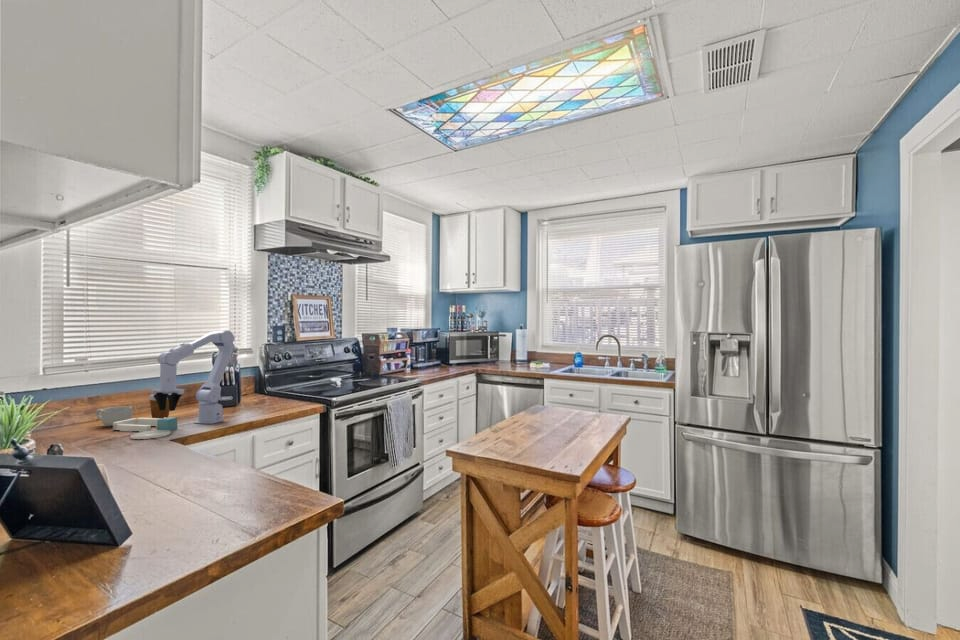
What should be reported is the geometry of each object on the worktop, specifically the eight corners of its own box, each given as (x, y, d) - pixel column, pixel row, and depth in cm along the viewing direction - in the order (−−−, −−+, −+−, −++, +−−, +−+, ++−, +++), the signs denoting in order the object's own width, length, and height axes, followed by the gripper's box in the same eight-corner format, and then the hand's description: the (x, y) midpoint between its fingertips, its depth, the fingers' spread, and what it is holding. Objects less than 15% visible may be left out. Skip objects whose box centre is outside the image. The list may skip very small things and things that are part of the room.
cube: (177, 429, 186) (177, 417, 186) (167, 431, 181) (167, 419, 181) (167, 428, 187) (167, 417, 187) (156, 431, 182) (157, 419, 182)
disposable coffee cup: (142, 420, 203) (143, 395, 204) (162, 416, 212) (163, 392, 213) (157, 421, 201) (158, 396, 201) (176, 418, 210) (177, 393, 210)
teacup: (137, 423, 197) (138, 406, 197) (115, 428, 186) (116, 410, 186) (110, 422, 198) (111, 405, 198) (87, 427, 187) (87, 409, 188)
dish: (178, 433, 178) (178, 430, 178) (149, 440, 165) (149, 438, 165) (151, 431, 180) (151, 429, 180) (121, 439, 167) (121, 436, 167)
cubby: (169, 426, 190) (169, 418, 190) (146, 432, 179) (146, 423, 179) (137, 425, 193) (137, 417, 193) (112, 430, 182) (113, 422, 182)
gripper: (145, 379, 182) (144, 411, 182) (174, 380, 180) (173, 412, 179) (160, 378, 189) (159, 408, 188) (188, 378, 187) (187, 409, 186)
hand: (167, 410), depth 184 cm, fingers open, 4 cm apart
